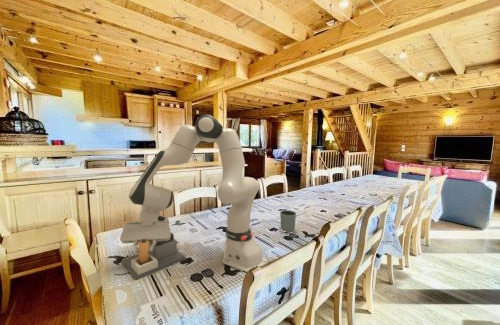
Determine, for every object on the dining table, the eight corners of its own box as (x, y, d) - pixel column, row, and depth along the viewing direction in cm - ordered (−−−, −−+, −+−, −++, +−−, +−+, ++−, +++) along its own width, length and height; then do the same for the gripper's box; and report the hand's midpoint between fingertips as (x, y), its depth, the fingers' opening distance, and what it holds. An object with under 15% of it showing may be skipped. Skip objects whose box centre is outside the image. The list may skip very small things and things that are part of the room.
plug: (150, 262, 93) (150, 239, 92) (141, 265, 90) (140, 242, 89) (146, 258, 95) (146, 236, 94) (137, 261, 92) (137, 239, 91)
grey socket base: (185, 259, 102) (185, 238, 101) (136, 280, 86) (135, 255, 85) (168, 246, 114) (168, 227, 113) (122, 262, 97) (121, 240, 96)
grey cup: (295, 234, 134) (296, 216, 133) (278, 232, 136) (279, 214, 135) (295, 228, 144) (296, 210, 143) (279, 226, 146) (280, 209, 144)
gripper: (122, 219, 95) (114, 251, 87) (171, 217, 100) (167, 248, 91) (126, 224, 100) (118, 256, 92) (172, 223, 104) (169, 252, 96)
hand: (143, 252), depth 91 cm, fingers closed on plug, 4 cm apart
